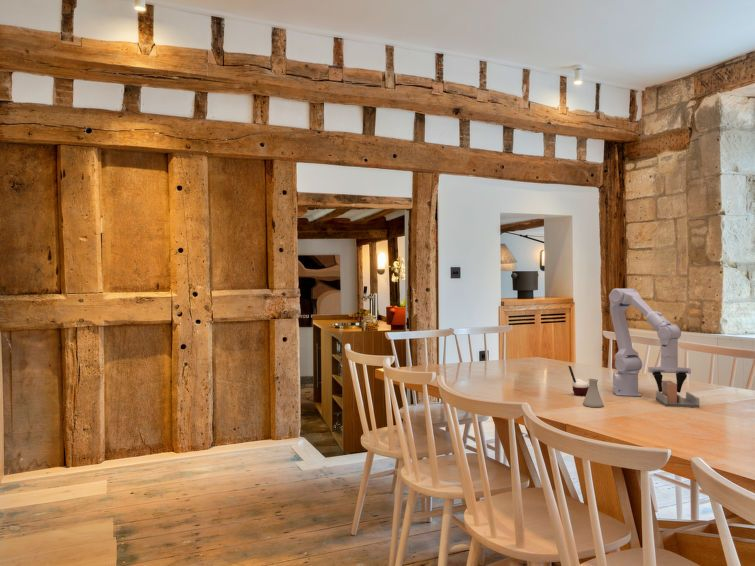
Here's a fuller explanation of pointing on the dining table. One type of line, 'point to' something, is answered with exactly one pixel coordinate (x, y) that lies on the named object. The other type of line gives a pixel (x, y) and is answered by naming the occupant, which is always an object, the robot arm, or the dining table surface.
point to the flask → (593, 395)
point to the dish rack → (679, 400)
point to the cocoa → (578, 385)
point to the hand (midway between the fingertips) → (669, 391)
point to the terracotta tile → (670, 391)
